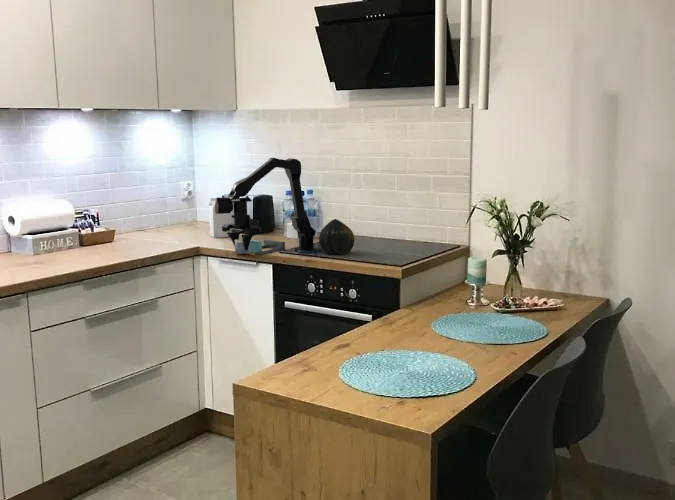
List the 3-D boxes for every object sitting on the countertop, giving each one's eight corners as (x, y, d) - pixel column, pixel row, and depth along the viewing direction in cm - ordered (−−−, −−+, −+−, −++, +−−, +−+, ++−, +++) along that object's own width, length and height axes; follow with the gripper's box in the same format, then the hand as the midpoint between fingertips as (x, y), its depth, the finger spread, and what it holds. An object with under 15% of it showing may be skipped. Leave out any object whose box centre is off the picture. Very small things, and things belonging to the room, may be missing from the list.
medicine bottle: (298, 239, 352) (297, 214, 350) (286, 238, 356) (286, 213, 354) (307, 237, 357) (307, 212, 355) (296, 236, 361) (295, 211, 359)
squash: (339, 244, 300) (350, 214, 307) (308, 243, 308) (320, 214, 315) (353, 263, 311) (363, 234, 317) (323, 261, 318) (334, 233, 325)
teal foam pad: (248, 250, 320) (248, 239, 320) (262, 252, 315) (261, 241, 314) (244, 251, 319) (244, 239, 318) (258, 253, 313) (258, 241, 312)
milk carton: (210, 236, 364) (208, 197, 360) (224, 235, 367) (222, 197, 363) (213, 238, 357) (212, 199, 354) (228, 237, 360) (226, 198, 357)
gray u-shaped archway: (266, 246, 330) (266, 239, 330) (284, 249, 322) (284, 241, 322) (238, 251, 318) (238, 243, 318) (257, 254, 311) (257, 246, 310)
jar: (239, 254, 308) (239, 241, 307) (232, 252, 312) (232, 239, 312) (251, 252, 311) (251, 239, 310) (244, 250, 316) (243, 238, 315)
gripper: (269, 212, 309) (271, 249, 311) (240, 209, 321) (241, 244, 324) (249, 215, 301) (251, 252, 303) (220, 211, 313) (221, 248, 316)
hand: (241, 249), depth 312 cm, fingers closed on jar, 6 cm apart
